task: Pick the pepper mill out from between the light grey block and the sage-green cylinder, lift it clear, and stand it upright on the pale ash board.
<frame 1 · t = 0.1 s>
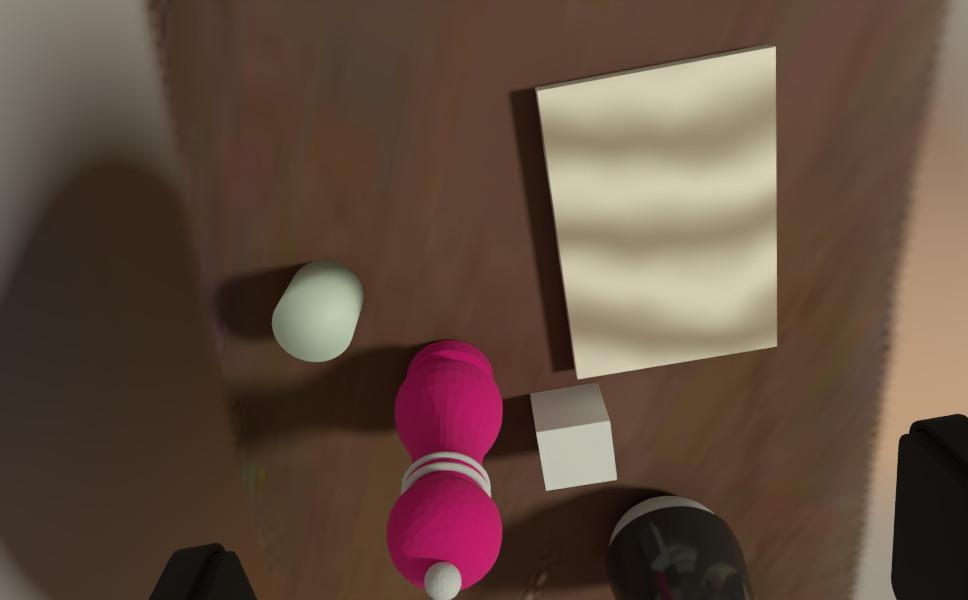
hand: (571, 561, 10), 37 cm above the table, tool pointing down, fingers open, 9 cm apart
ash board: (661, 222, 47), on the table
dark rounded piece: (658, 524, 57), on the table
pepper mill: (450, 375, 51), on the table
grey block: (567, 415, 53), on the table
sage cylinder: (327, 294, 48), on the table
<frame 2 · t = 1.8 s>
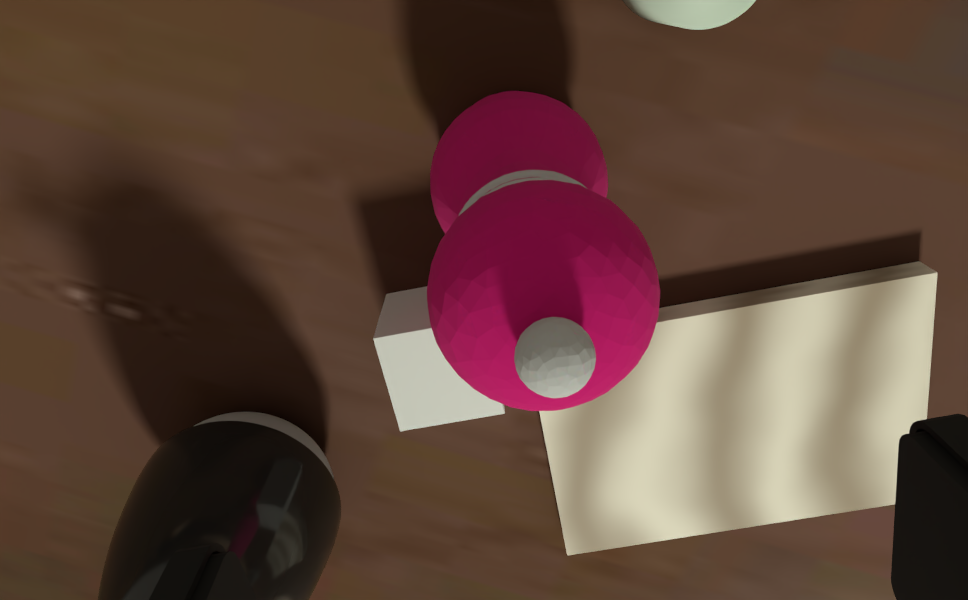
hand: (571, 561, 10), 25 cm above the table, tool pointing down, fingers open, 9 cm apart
ash board: (725, 411, 39), on the table
dark rounded piece: (261, 457, 40), on the table
pepper mill: (512, 158, 33), on the table
grey block: (445, 327, 36), on the table
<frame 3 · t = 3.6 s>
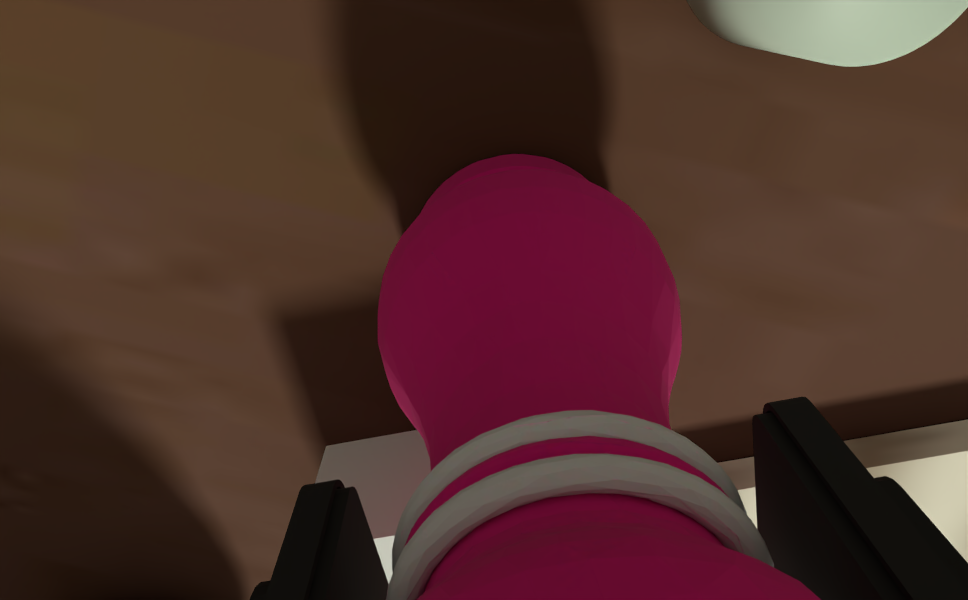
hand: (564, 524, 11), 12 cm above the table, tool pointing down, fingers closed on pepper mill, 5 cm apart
ash board: (816, 592, 27), on the table
pepper mill: (514, 253, 21), on the table, touching gripper
grey block: (415, 489, 25), on the table
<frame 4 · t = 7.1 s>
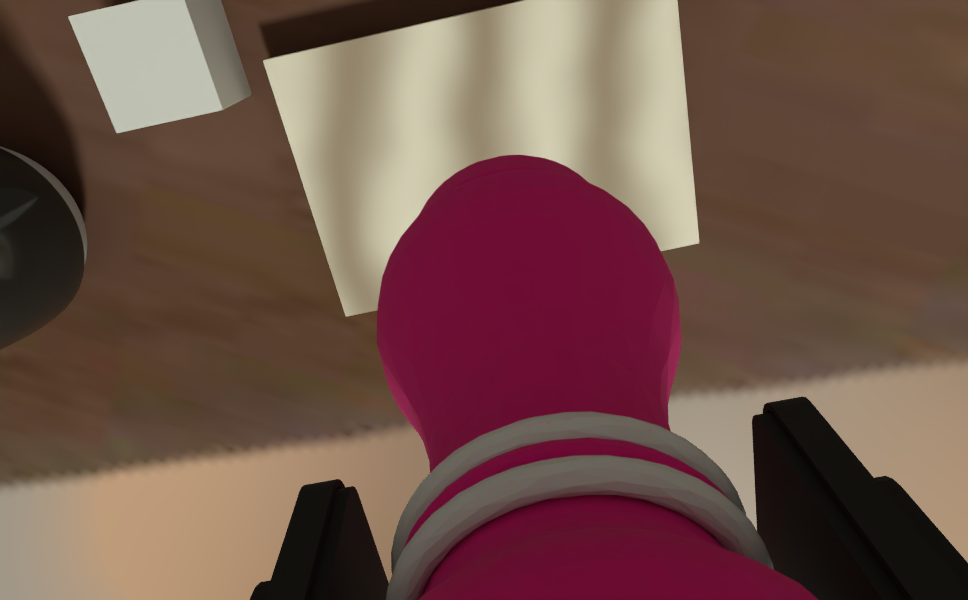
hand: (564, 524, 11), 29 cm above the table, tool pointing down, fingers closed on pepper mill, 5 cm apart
ash board: (493, 151, 38), on the table
dark rounded piece: (19, 216, 38), on the table
pepper mill: (513, 254, 21), point 17 cm above the table, touching gripper
grey block: (187, 54, 35), on the table
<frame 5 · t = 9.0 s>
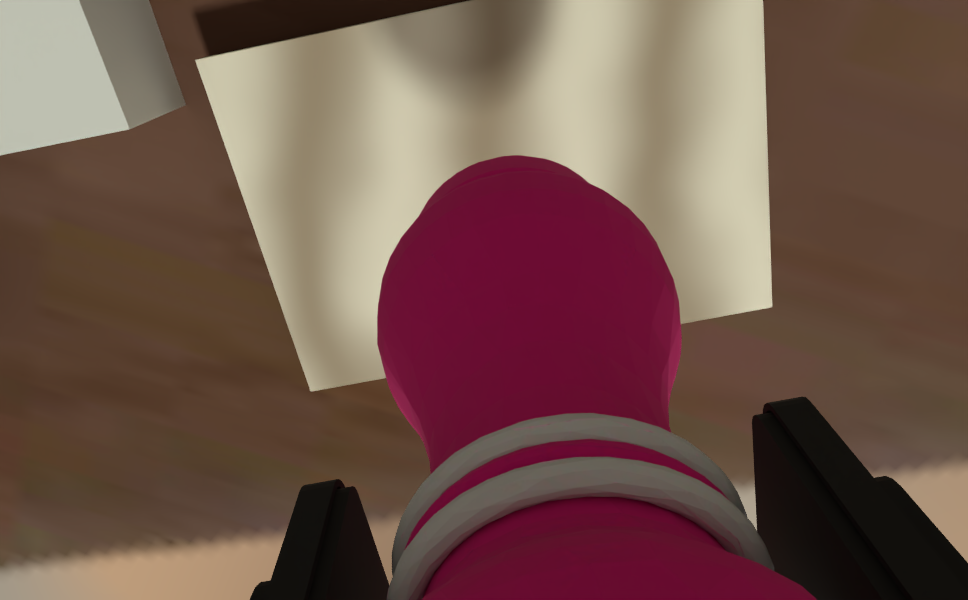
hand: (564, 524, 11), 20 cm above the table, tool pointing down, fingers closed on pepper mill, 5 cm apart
ash board: (505, 183, 29), on the table
pepper mill: (513, 254, 21), point 8 cm above the table, touching gripper
grey block: (98, 50, 26), on the table
when the fingers open (14 cm above the table, at t = 10.5 s): pepper mill drops 1 cm, resting on ash board.
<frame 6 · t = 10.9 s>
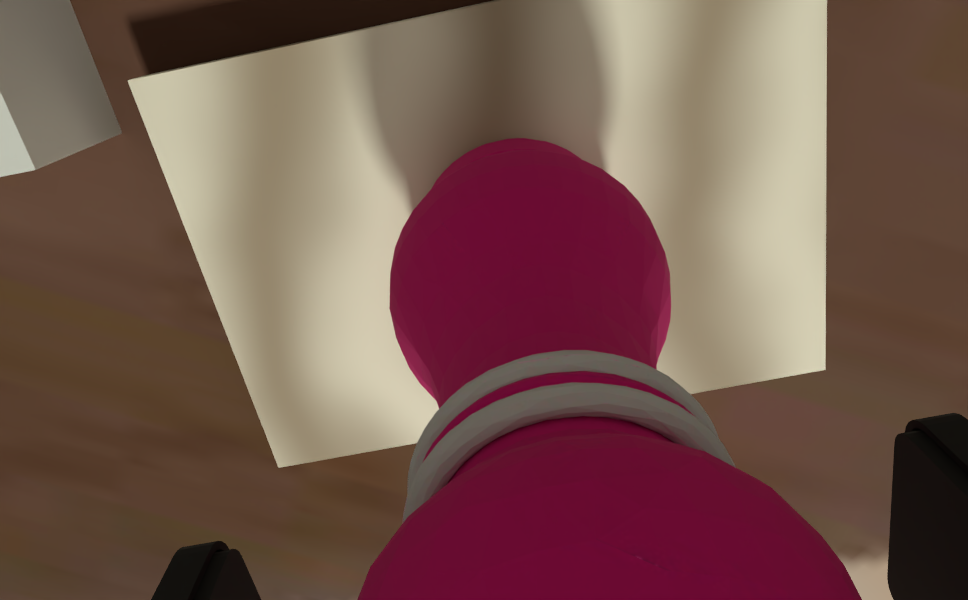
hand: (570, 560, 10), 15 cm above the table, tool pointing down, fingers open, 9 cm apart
ash board: (508, 225, 24), on the table
pepper mill: (516, 233, 23), point 1 cm above the table, touching ash board
grey block: (13, 67, 22), on the table
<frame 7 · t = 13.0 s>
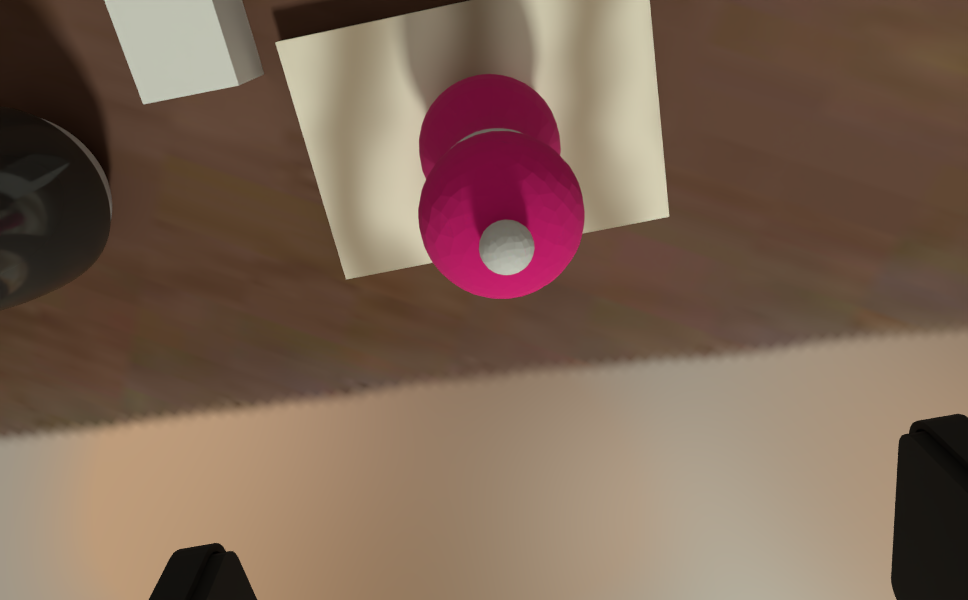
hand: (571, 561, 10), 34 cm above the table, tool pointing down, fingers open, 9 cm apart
ash board: (482, 129, 41), on the table
dark rounded piece: (50, 182, 42), on the table
pepper mill: (486, 131, 40), point 1 cm above the table, touching ash board
grey block: (207, 36, 39), on the table
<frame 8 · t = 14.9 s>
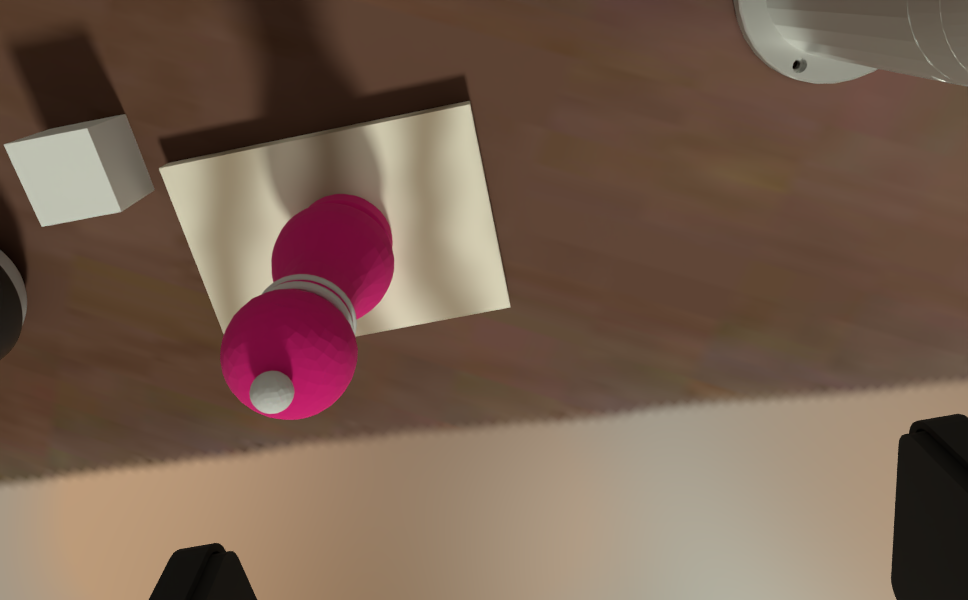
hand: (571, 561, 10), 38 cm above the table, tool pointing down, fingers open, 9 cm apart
ash board: (346, 233, 48), on the table
pepper mill: (346, 237, 47), point 1 cm above the table, touching ash board
grey block: (104, 159, 46), on the table
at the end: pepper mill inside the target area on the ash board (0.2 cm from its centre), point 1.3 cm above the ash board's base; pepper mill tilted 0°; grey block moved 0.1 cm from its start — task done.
